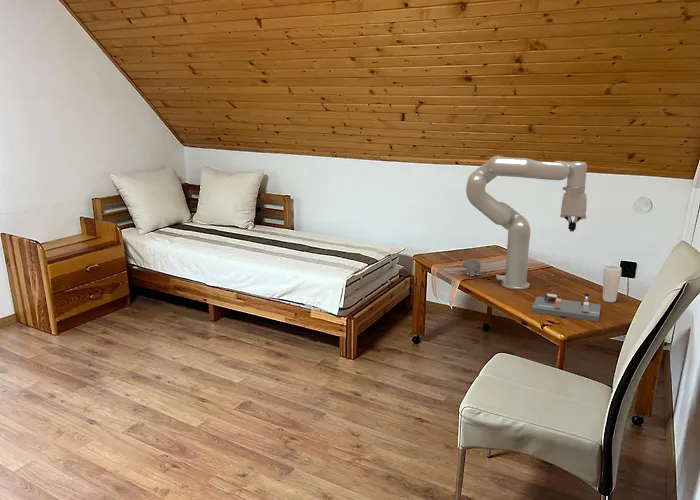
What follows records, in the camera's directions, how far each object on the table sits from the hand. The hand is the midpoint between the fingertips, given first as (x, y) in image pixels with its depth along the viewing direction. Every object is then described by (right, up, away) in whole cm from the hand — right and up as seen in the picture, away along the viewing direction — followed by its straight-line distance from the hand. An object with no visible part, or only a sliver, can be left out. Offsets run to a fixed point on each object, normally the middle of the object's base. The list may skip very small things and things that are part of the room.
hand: (571, 231), depth 241 cm
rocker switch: (-14, -28, -15) cm, 35 cm away
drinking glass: (+12, -30, -10) cm, 34 cm away
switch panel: (-11, -33, -20) cm, 41 cm away
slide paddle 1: (-15, -31, -23) cm, 42 cm away
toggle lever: (-3, -31, -21) cm, 37 cm away
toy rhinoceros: (-39, -21, +31) cm, 54 cm away
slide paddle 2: (-6, -32, -28) cm, 43 cm away
